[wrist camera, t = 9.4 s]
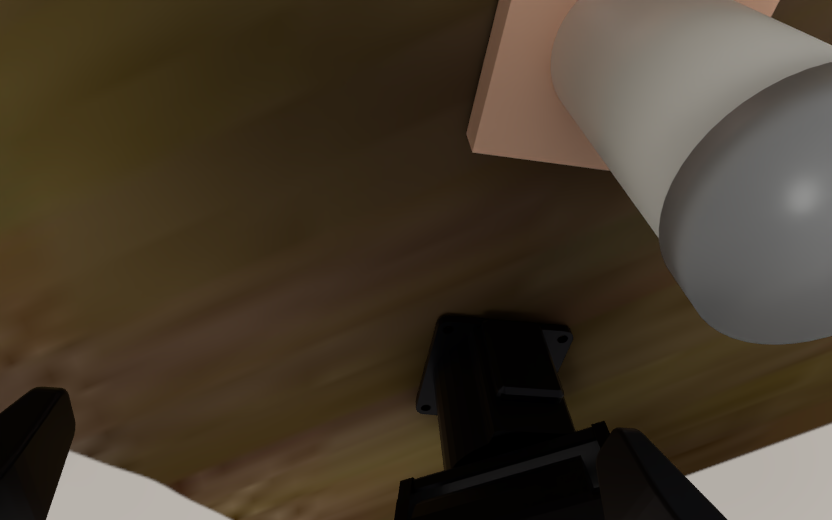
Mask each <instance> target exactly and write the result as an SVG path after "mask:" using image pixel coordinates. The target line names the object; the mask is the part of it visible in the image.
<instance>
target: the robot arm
mask: <svg viewBox="0 0 832 520" xmlns="http://www.w3.org/2000/svg"><path fill="white" fill-rule="evenodd" d="M445 326H451V327H449V328H445ZM563 335H564V336H563ZM560 336H562V337H560ZM572 341H573V335H572V333H571V330H570V328H569V327H567V326H562V325H551V324H539V323H528V322H516V321H505V320H493V319H482V318H470V317H459V316H444V317H441V318H440V319H439V320H438V321H437V323H436V327H435V331H434V334H433V338H432V342H431V346H430V349H429V353H428V357H427V361H426V364H425V368H424V372H423V376H422V379H421V383H420V387H419V391H418V394H417V398H416V410H417V412H419V413H420V414H429V415H438V423H439V431H440V440H441V448H442V457H443V465H444V471H441V472H437V473H434V474H430V475H427V476H424V477H420V478H417V479H414V478H413V477H412V478H409V479H406V480H402V481H400V487H399V494H398V499H397V503H396V510H395V518H394V520H727V519H726V518H725V517H724V516H723V515H722V514H721V513H720V512H719V511H718V510H717V509H716V507H715V506H714V505H713V504H712V503H711V502H709V500H708V499H707V498H706V497H705V496H704V495H703V494H702V493H701V492H700V491H699V490H698V489H697V488H696V487H695V486H694V485H693V484H692V483H691V482H690V481H689V480H688V479H687V478H686V477H685V476H684V475H683V474H682V473H681V472H680V471H679V470H678V469H677V468H676V467H675V466H674V465H673V464H672V463H671V462H670V461H669V460H668V459H667V458H666V457H665V456H664V455H663V453H662V452H661V451H660V450H659V449H658V448H657V447H656V446H655V445H654V444H653V443H652V442H651V441H650V440H649V439H648V438H647V437H646V436H645V435H644V434H643V433H642V432H640V431H639V430H637V429H633V428H615V429H614V430H613V431H612V432H611V433H609V431H608V428H607V426H606V423H605V421H602V422H598V423H595V424H591V426H592V427H590V428H586V429H583V430H579V431H575V428H574V425H573V422H572V419H571V416H570V414H569V411H568V408H567V405H566V402H565V399H564V392H563V389H562V386H561V383H560V380H559V377H558V374H557V373H558V370H559V368H560V366H561V364H562V362H563V360H564V358H565V355H566V353H567V351H568V349H569V347H570V345H571V343H572ZM74 433H75V418H74V414H73V410H72V406H71V402H70V398H69V394H68V392H67V391H66V390H65V389H63V388H55V387H36V388H34V389H32V390H30V391H29V392H27V393H26V394H25V395H23V396H22V397H21V398H19V399H18V400H17V401H15V402H14V403H13V404H12V405H10V406H9V407H8V408H6V409H5V410H4V411H2V412H1V413H0V520H46V518H47V514H48V512H49V509H50V505H51V503H52V500H53V497H54V494H55V491H56V488H57V485H58V482H59V479H60V476H61V473H62V470H63V467H64V464H65V460H66V458H67V455H68V452H69V449H70V446H71V443H72V440H73V437H74Z"/></svg>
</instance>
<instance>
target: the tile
mask: <svg viewBox="0 0 832 520" xmlns="http://www.w3.org/2000/svg"><path fill="white" fill-rule="evenodd" d="M577 1H578V0H499V2H498V6H497V10H496V14H495V18H494V22H493V26H492V30H491V34H490V38H489V43H488V47H487V51H486V55H485V59H484V63H483V67H482V71H481V75H480V79H479V84H478V88H477V92H476V96H475V100H474V104H473V108H472V112H471V116H470V120H469V125H468V129H467V133H466V134H467V138H468V141H469V144H470V147H471V150H472V152H473V153H481V154H488V155H495V156H503V157H510V158H518V159H525V160H533V161H540V162H548V163H555V164H563V165H570V166H578V167H585V168H593V169H600V170H607V171H610V170H609V168H608V167H607V165H606V164H605V163H604V161H603V160H602V158H601V157H600V156H599V154H598V153H597V151H596V150H595V149H594V147H593V146H592V144H591V143H590V142H589V140H588V139H587V137H586V136H585V135H584V133H583V132H582V130H581V129H580V128H579V126H578V125H577V123H576V122H575V121H574V119H573V118H572V116H571V115H570V114H569V112H568V111H567V109H566V108H565V107H564V105H563V104H562V102H561V101H560V99H559V98H558V96H557V94H556V91H555V89H554V86H553V82H552V77H551V54H552V48H553V44H554V40H555V38H556V35H557V32H558V30H559V28H560V26H561V24H562V22H563V20H564V18H565V17H566V15H567V14H568V12H569V11H570V9H571V8H572V7H573V6H574V4H575V3H576V2H577ZM734 1H736V2H739V3H741V4H743V5H745V6H747V7H749V8H752V9H754V10H756V11H758V12H760V13H762V14H765V15H767V16H769V17H771V16H772V14H773V12H774V10H775V8H776V6H777V4H778V2H779V0H734Z"/></svg>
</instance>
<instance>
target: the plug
mask: <svg viewBox="0 0 832 520" xmlns="http://www.w3.org/2000/svg"><path fill="white" fill-rule="evenodd" d="M551 77H552V82H553V86H554V89H555V91H556V94H557V96H558V98H559V99H560V101H561V102H562V104H563V105H564V107H565V108H566V109H567V111H568V112H569V114H570V115H571V116H572V118H573V119H574V121H575V122H576V123H577V125H578V126H579V128H580V129H581V130H582V132H583V133H584V135H585V136H586V137H587V139H588V140H589V142H590V143H591V144H592V146H593V147H594V149H595V150H596V151H597V153H598V154H599V156H600V157H601V158H602V160H603V161H604V163H605V164H606V165H607V167H608V168H609V170H610V171H611V172H612V174H613V175H614V177H615V178H616V179H617V181H618V182H619V183H620V185H621V186H622V188H623V189H624V190H625V192H626V193H627V195H628V196H629V197H630V199H631V200H632V202H633V203H634V204H635V206H636V207H637V209H638V210H639V211H640V213H641V214H642V216H643V217H644V218H645V220H646V221H647V223H648V224H649V225H650V227H651V228H652V230H653V231H654V232H655V234H656V235H657V237H658V238H659V244H660V249H661V254H662V257H663V259H664V262H665V264H666V267H667V268H668V270H669V271H670V273H671V274H672V276H673V277H674V278H675V280H676V281H677V283H678V284H679V286H680V287H681V289H682V290H683V292H684V293H685V294H686V296H687V297H688V299H689V300H690V302H691V303H692V305H693V306H694V308H695V309H696V310H697V312H698V313H699V315H700V316H701V317H702V318H703V319H704V320H705V321H706V322H707V323H708V324H709V325H710V326H711V327H713V328H714V329H716V330H717V331H719V332H720V333H722V334H725V335H727V336H729V337H731V338H734V339H738V340H742V341H745V342H751V343H758V344H792V343H800V342H806V341H812V340H816V339H821V338H825V337H829V336H832V45H830V44H828V43H826V42H823V41H821V40H819V39H817V38H815V37H812V36H810V35H808V34H806V33H804V32H802V31H799V30H797V29H795V28H793V27H791V26H789V25H786V24H784V23H782V22H780V21H778V20H775V19H773V18H771V17H769V16H767V15H765V14H762V13H760V12H758V11H756V10H754V9H752V8H749V7H747V6H745V5H743V4H741V3H739V2H736V1H734V0H578V1H577V2H576V3H575V4H574V6H573V7H572V8H571V9H570V11H569V12H568V14H567V15H566V17H565V18H564V20H563V22H562V24H561V26H560V28H559V30H558V32H557V35H556V38H555V40H554V44H553V48H552V54H551Z"/></svg>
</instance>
